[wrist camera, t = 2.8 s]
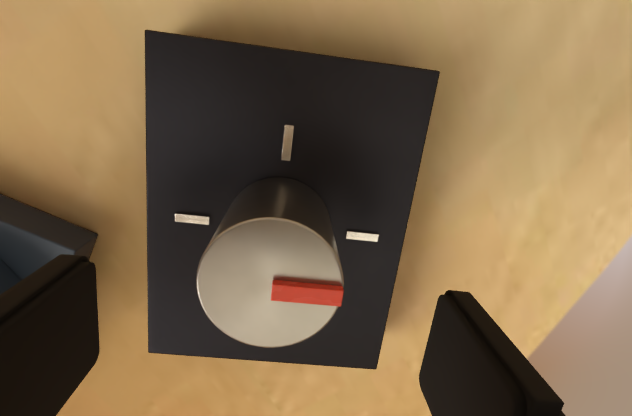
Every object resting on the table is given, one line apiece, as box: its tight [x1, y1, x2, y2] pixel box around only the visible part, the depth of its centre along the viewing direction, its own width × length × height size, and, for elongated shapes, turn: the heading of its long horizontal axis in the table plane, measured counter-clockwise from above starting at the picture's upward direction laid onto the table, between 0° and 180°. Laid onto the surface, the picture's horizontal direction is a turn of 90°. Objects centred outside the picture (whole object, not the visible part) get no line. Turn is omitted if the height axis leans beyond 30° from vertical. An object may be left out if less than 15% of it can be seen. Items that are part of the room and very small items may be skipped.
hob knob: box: [196, 177, 344, 348], centre depth 13 cm, size 4×4×5 cm
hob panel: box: [145, 30, 440, 369], centre depth 17 cm, size 14×11×3 cm
